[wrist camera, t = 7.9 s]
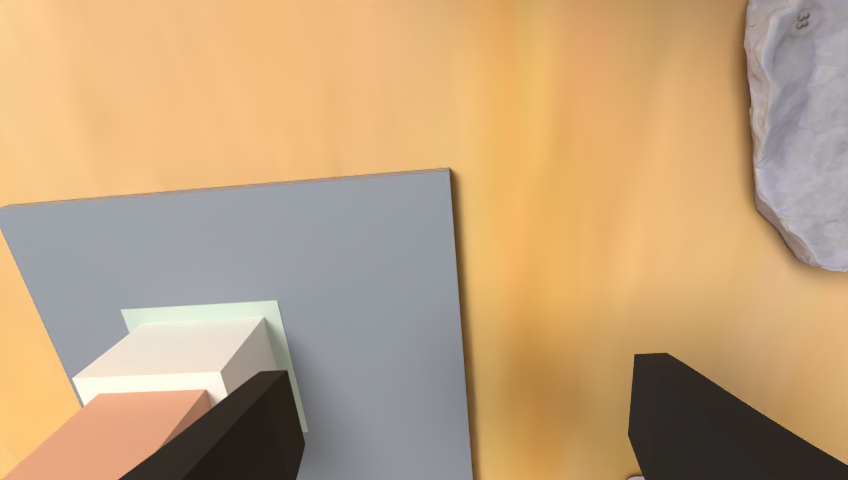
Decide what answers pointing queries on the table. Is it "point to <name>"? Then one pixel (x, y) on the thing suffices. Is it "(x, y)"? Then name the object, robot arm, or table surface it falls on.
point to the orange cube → (113, 435)
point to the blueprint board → (281, 300)
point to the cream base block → (181, 359)
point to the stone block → (801, 123)
